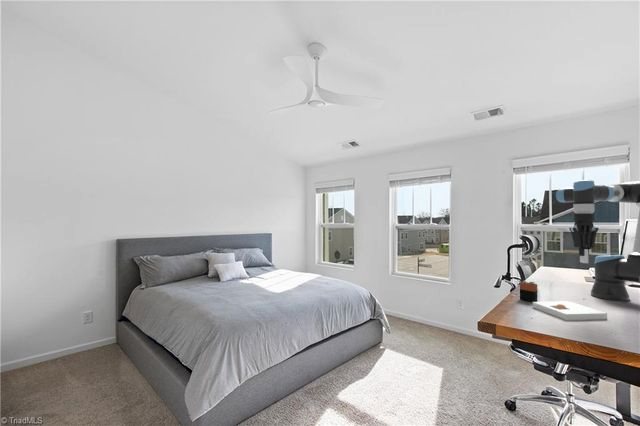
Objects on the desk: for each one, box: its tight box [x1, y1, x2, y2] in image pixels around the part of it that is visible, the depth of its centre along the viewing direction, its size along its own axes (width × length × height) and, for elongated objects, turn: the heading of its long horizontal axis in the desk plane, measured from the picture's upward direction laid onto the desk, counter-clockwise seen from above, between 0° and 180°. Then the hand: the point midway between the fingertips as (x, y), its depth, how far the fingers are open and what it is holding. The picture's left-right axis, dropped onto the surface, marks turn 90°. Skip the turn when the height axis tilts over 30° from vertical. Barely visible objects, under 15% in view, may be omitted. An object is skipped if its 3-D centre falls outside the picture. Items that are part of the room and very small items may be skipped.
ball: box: [556, 304, 567, 310], centre depth 136 cm, size 4×4×4 cm
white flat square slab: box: [532, 300, 608, 321], centre depth 136 cm, size 19×18×2 cm
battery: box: [519, 280, 538, 303], centre depth 156 cm, size 4×7×10 cm, turn 35°
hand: (584, 262), depth 140 cm, fingers closed
